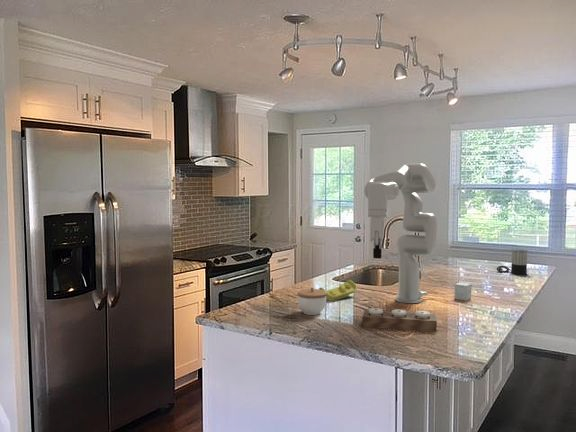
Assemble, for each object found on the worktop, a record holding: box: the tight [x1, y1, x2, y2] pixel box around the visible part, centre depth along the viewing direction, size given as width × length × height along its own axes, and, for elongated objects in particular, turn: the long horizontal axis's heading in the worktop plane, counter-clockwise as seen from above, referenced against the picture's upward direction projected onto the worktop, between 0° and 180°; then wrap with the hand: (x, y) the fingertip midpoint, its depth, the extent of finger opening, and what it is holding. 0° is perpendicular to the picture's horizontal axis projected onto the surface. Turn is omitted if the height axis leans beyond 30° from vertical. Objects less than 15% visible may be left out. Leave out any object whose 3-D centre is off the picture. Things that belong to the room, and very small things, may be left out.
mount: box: [361, 309, 438, 332], centre depth 192 cm, size 28×10×4 cm, turn 76°
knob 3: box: [414, 310, 431, 319], centre depth 190 cm, size 6×6×5 cm
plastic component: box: [318, 279, 358, 302], centre depth 240 cm, size 20×7×10 cm
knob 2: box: [391, 308, 407, 317], centre depth 192 cm, size 6×6×5 cm
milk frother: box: [496, 248, 528, 276], centre depth 303 cm, size 14×16×15 cm
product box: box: [454, 281, 472, 302], centre depth 236 cm, size 6×6×7 cm
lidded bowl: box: [297, 287, 327, 316], centre depth 211 cm, size 13×13×11 cm
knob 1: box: [368, 307, 384, 316], centre depth 194 cm, size 6×6×5 cm
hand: (377, 257), depth 198 cm, fingers closed
